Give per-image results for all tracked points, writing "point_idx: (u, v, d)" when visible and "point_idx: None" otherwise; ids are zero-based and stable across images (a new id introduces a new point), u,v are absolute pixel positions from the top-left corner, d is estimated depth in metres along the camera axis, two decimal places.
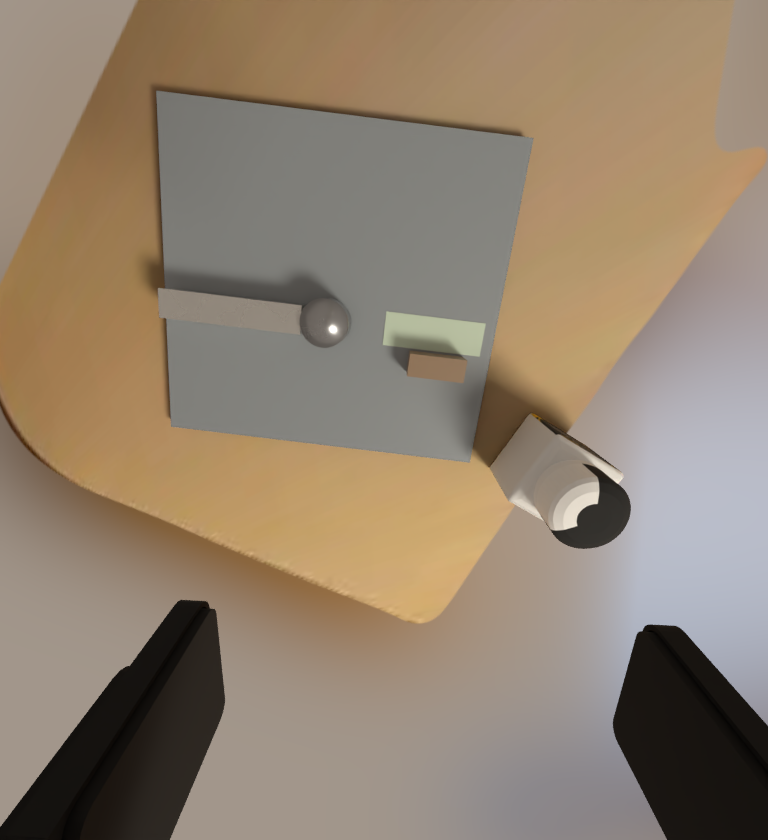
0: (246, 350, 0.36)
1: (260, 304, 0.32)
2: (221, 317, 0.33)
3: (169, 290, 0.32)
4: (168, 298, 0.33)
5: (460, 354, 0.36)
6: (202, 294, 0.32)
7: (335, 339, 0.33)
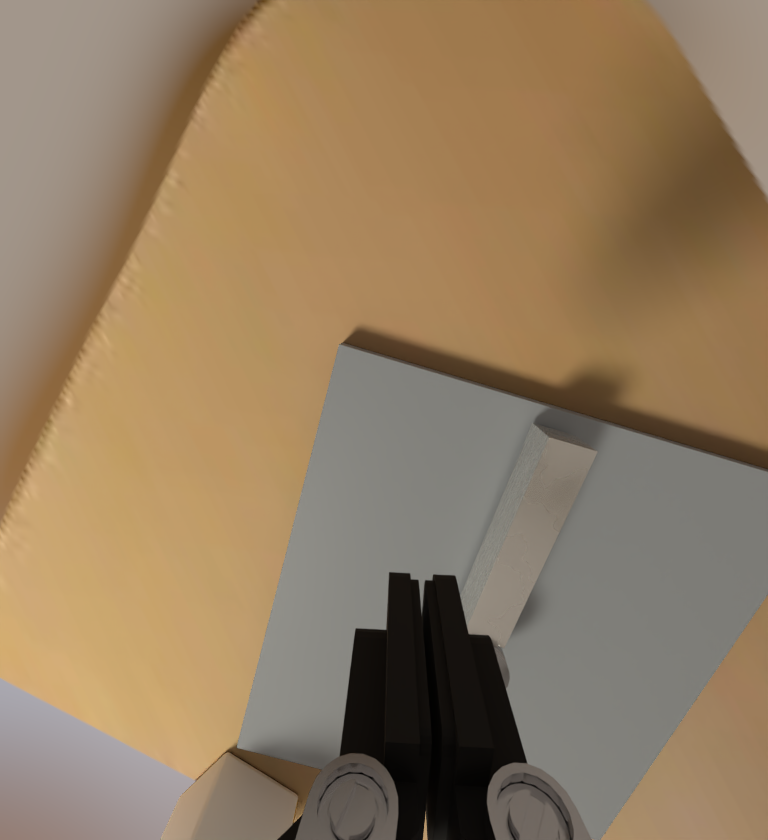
0: (449, 512, 0.22)
1: (521, 596, 0.20)
2: (519, 537, 0.20)
3: (587, 469, 0.18)
4: (574, 463, 0.18)
5: None
6: (563, 519, 0.19)
7: None
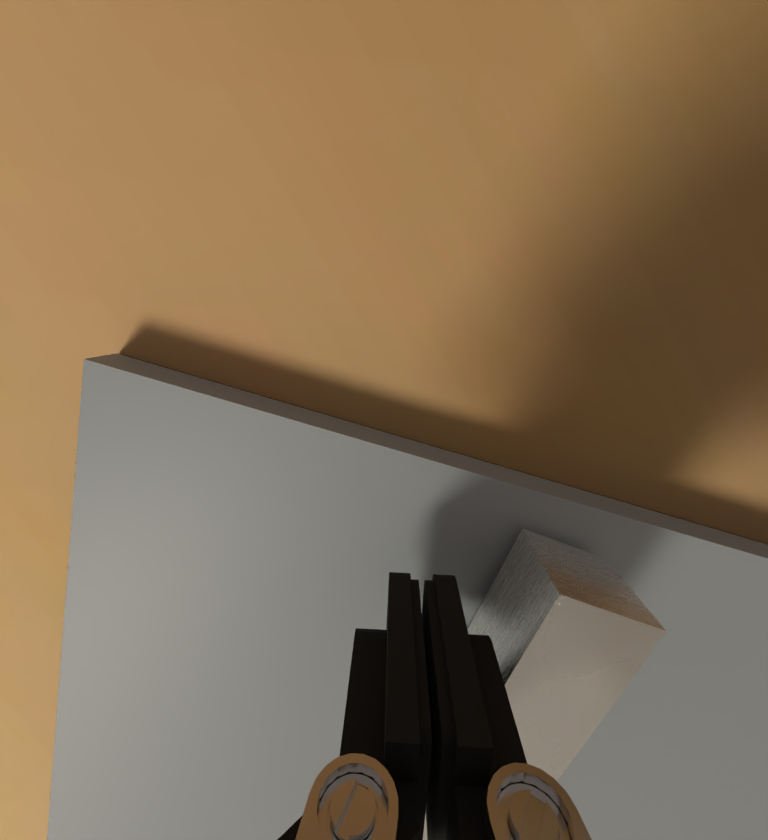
0: (338, 668, 0.12)
1: None
2: None
3: (637, 665, 0.08)
4: (611, 650, 0.08)
5: None
6: (574, 752, 0.09)
7: None
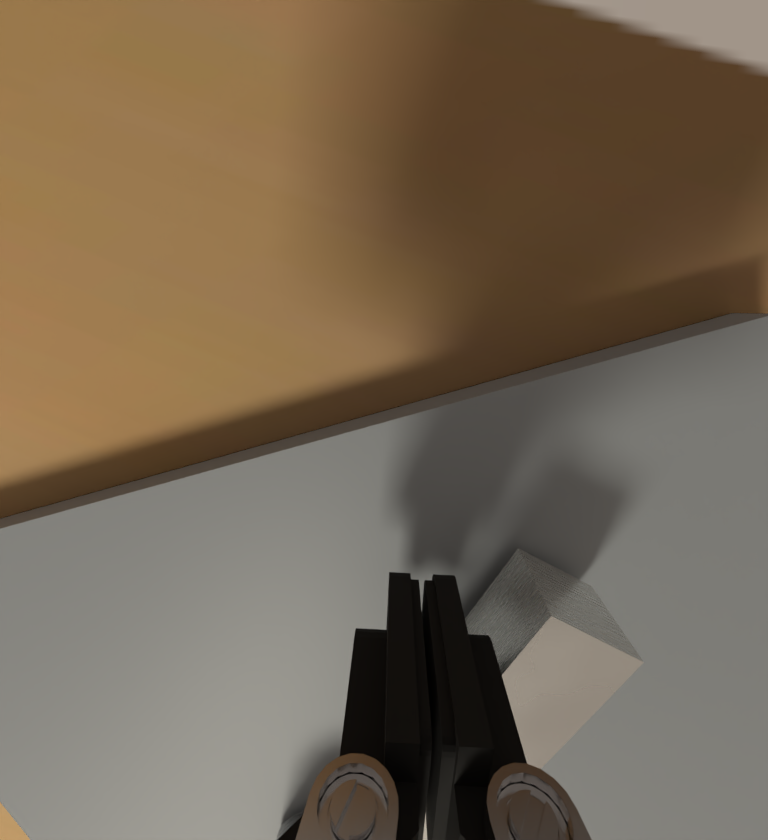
0: (161, 703, 0.13)
1: None
2: None
3: (612, 690, 0.09)
4: (589, 674, 0.09)
5: None
6: (540, 765, 0.09)
7: None
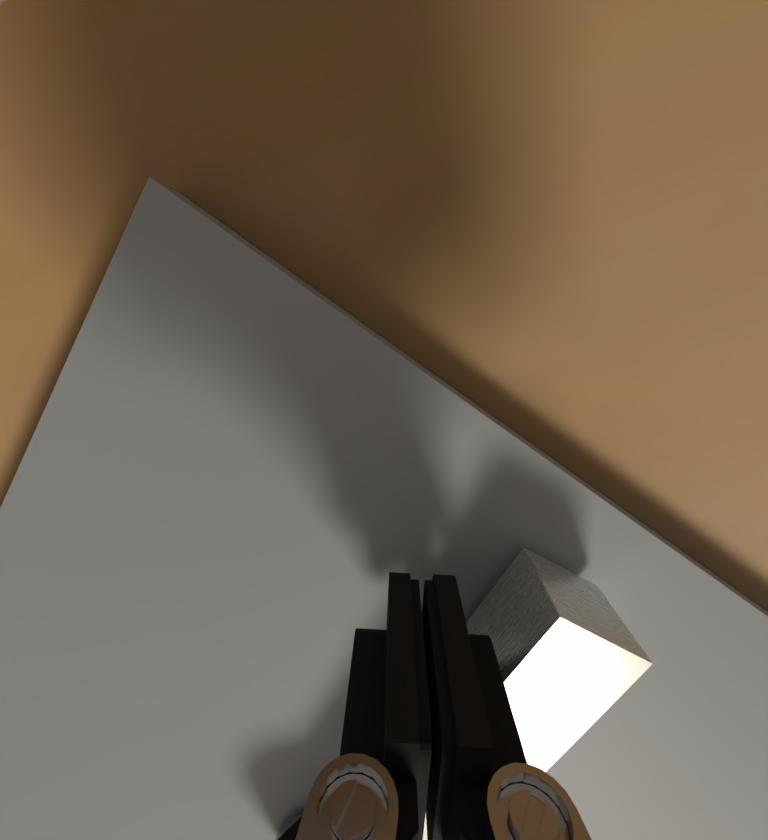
0: (108, 800, 0.14)
1: None
2: None
3: (620, 692, 0.09)
4: (598, 675, 0.08)
5: None
6: (546, 767, 0.09)
7: None
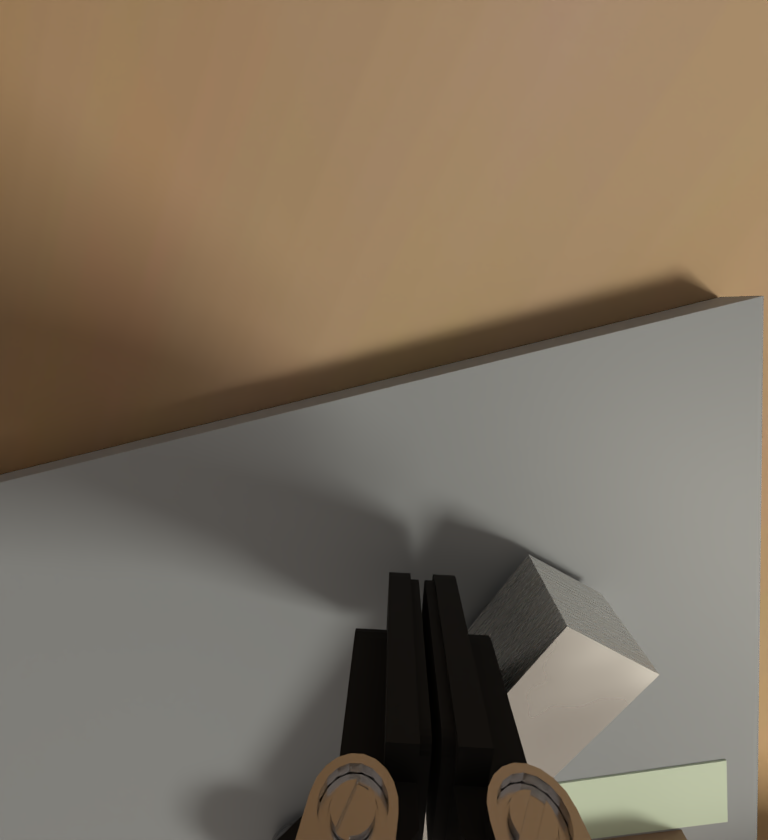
0: None
1: None
2: None
3: (625, 703, 0.08)
4: (603, 686, 0.08)
5: (674, 826, 0.14)
6: None
7: None
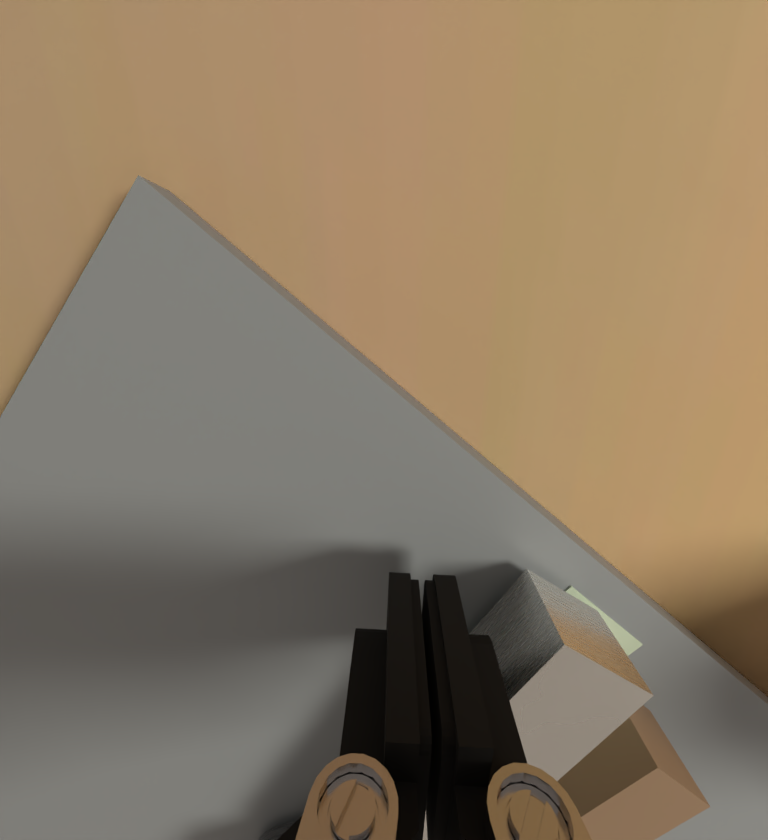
0: None
1: None
2: None
3: (618, 722, 0.08)
4: (598, 705, 0.08)
5: None
6: None
7: None
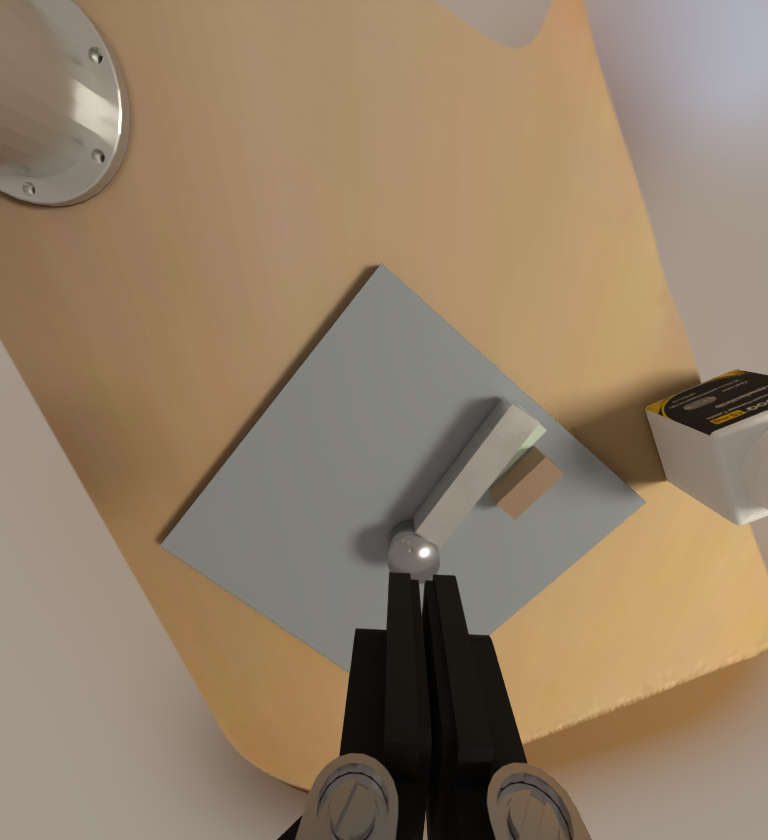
0: (386, 615, 0.35)
1: (463, 512, 0.29)
2: (473, 469, 0.28)
3: (530, 433, 0.27)
4: (523, 426, 0.27)
5: (530, 446, 0.30)
6: (505, 463, 0.28)
7: (393, 565, 0.30)
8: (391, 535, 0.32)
